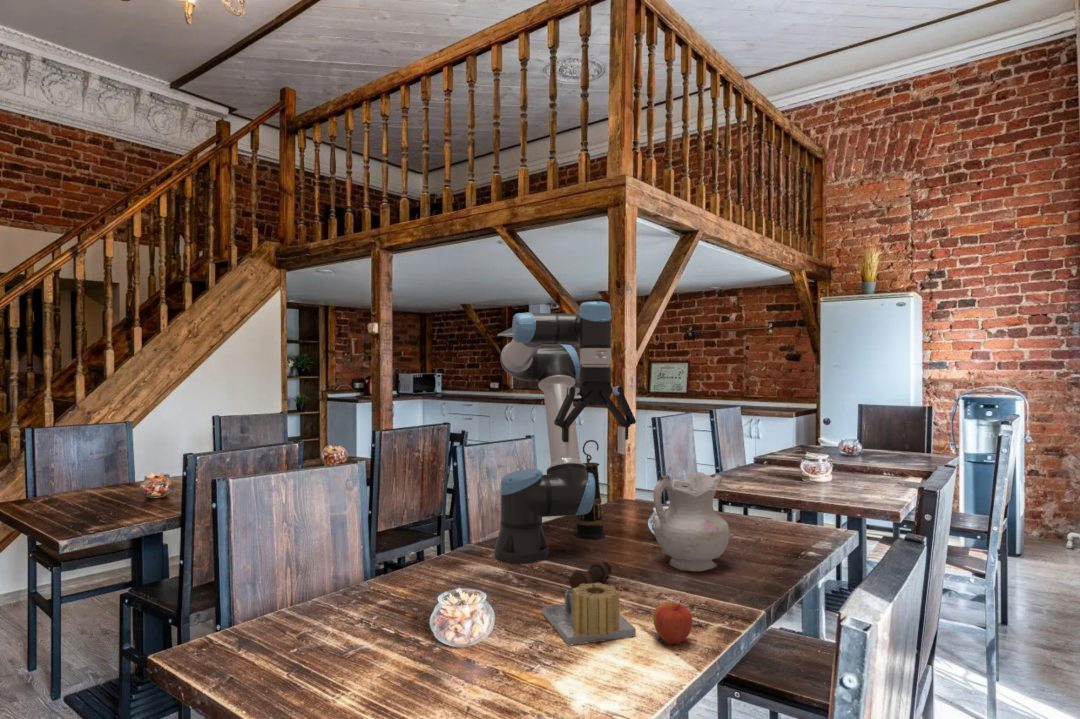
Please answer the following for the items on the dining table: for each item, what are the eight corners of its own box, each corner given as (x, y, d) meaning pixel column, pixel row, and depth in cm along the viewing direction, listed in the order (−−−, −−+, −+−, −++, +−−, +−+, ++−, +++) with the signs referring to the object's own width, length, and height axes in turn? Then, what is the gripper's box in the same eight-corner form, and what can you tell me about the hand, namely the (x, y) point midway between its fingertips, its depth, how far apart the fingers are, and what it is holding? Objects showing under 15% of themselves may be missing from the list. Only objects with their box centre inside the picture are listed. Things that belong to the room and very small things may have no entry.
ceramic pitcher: (692, 588, 153) (699, 487, 152) (631, 562, 167) (637, 470, 166) (740, 569, 167) (747, 477, 166) (680, 547, 182) (686, 462, 180)
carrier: (542, 614, 134) (542, 581, 134) (603, 606, 138) (603, 574, 138) (568, 646, 119) (568, 608, 119) (635, 636, 123) (635, 600, 123)
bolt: (609, 583, 159) (581, 600, 146) (593, 570, 161) (565, 585, 148) (619, 565, 157) (593, 580, 144) (604, 552, 160) (576, 566, 147)
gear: (582, 638, 118) (582, 601, 118) (566, 619, 127) (566, 585, 127) (627, 632, 121) (627, 596, 121) (607, 614, 130) (607, 580, 130)
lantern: (573, 532, 200) (573, 438, 200) (601, 531, 201) (601, 437, 201) (578, 540, 191) (578, 441, 191) (607, 539, 192) (607, 441, 192)
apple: (650, 633, 124) (650, 592, 124) (688, 633, 124) (687, 593, 124) (656, 650, 117) (656, 607, 117) (696, 650, 117) (695, 607, 117)
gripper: (551, 366, 143) (551, 459, 143) (649, 366, 151) (649, 454, 150) (541, 366, 150) (541, 454, 150) (635, 366, 158) (635, 450, 158)
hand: (595, 454), depth 150 cm, fingers open, 13 cm apart
